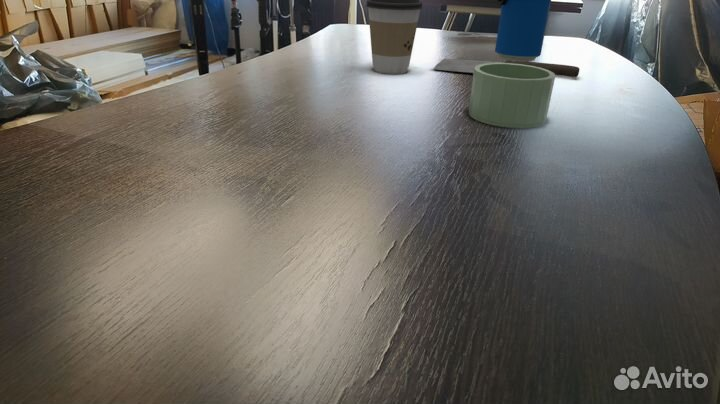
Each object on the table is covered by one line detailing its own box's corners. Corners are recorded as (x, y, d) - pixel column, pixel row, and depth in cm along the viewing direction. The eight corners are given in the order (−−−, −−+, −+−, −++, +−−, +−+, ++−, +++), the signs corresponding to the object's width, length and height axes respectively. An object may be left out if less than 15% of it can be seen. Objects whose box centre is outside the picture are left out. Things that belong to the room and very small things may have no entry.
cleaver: (576, 73, 106) (578, 63, 105) (581, 84, 98) (584, 73, 97) (438, 63, 113) (439, 54, 112) (432, 72, 105) (433, 62, 104)
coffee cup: (410, 78, 98) (417, -4, 91) (356, 72, 101) (358, -7, 94) (423, 67, 107) (429, -8, 101) (372, 62, 111) (375, -11, 104)
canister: (499, 102, 85) (506, 60, 81) (560, 119, 77) (570, 74, 73) (452, 112, 78) (458, 67, 75) (514, 133, 70) (523, 83, 67)
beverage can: (538, 64, 70) (556, -31, 64) (491, 59, 71) (505, -33, 66) (540, 56, 75) (557, -31, 70) (496, 52, 77) (510, -34, 72)
